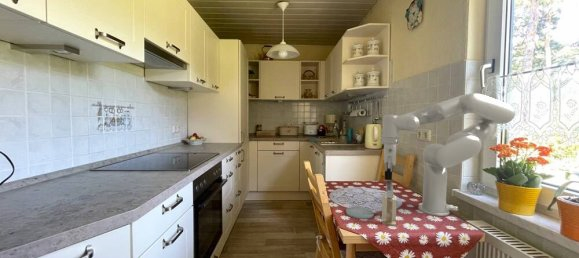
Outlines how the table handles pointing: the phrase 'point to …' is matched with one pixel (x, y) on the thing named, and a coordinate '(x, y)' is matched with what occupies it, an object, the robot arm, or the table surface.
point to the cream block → (384, 207)
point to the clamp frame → (389, 214)
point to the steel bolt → (389, 189)
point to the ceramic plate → (360, 212)
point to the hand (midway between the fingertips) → (388, 179)
